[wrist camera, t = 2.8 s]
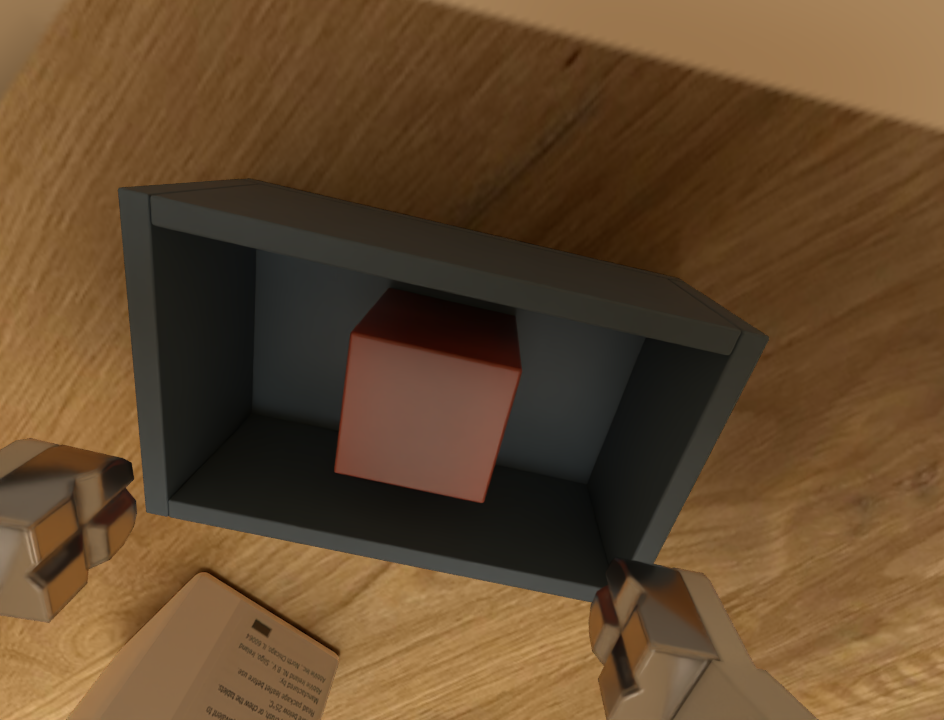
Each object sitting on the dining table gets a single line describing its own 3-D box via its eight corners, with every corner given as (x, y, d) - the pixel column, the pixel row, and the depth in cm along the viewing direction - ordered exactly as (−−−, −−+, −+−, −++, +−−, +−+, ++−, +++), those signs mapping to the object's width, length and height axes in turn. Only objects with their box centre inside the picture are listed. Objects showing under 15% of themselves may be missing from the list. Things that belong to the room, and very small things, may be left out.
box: (680, 278, 14) (772, 337, 9) (594, 489, 17) (630, 611, 13) (248, 177, 14) (116, 186, 9) (243, 414, 17) (145, 513, 12)
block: (516, 315, 14) (523, 370, 10) (487, 424, 16) (483, 505, 12) (388, 286, 14) (349, 331, 10) (371, 399, 16) (332, 473, 12)
